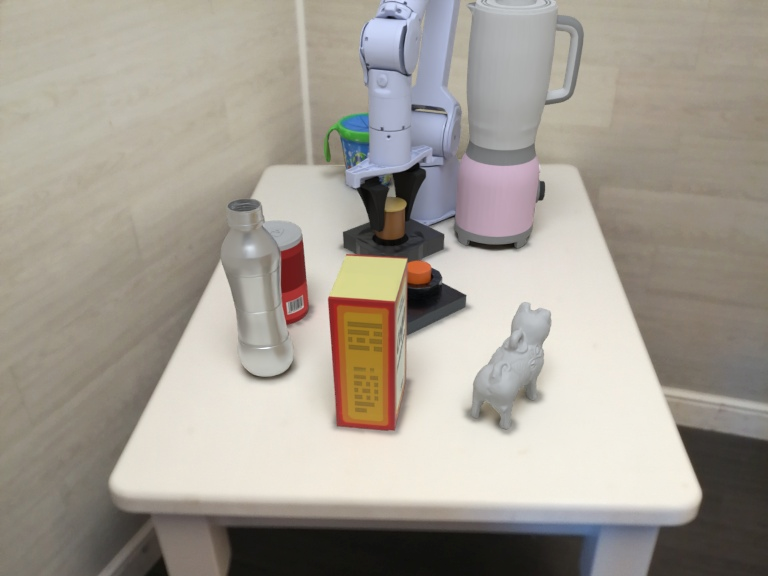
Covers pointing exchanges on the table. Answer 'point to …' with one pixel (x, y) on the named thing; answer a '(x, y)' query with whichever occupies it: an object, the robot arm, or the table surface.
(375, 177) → the robot arm
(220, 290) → the table surface
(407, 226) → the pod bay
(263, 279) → the plastic bottle
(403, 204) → the coffee pod
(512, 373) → the dog figurine
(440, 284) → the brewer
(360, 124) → the snack cup
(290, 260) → the canned food
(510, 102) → the blender
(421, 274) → the button
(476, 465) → the table surface
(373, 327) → the baking soda box
